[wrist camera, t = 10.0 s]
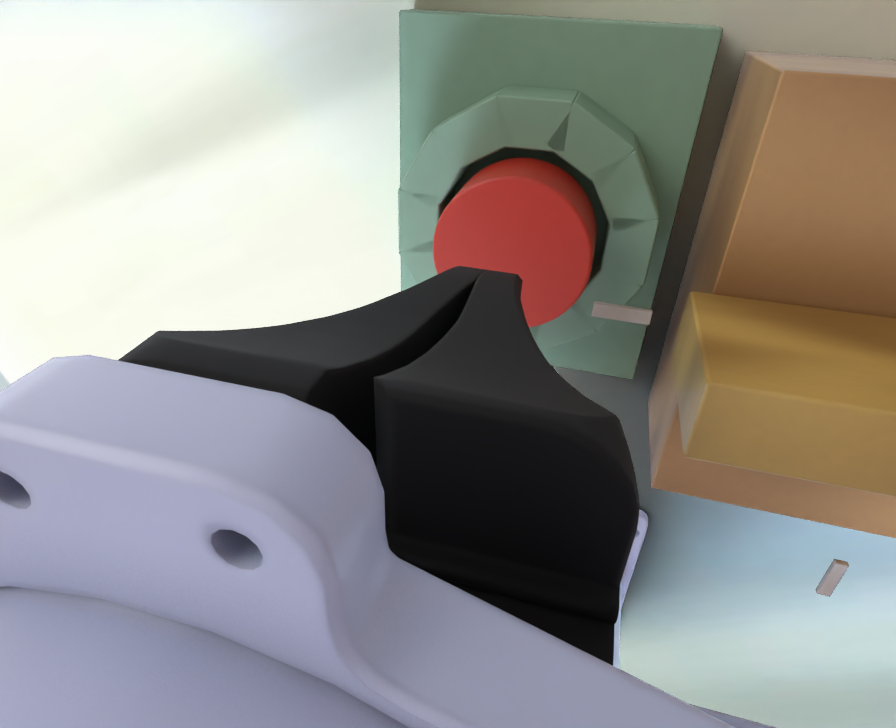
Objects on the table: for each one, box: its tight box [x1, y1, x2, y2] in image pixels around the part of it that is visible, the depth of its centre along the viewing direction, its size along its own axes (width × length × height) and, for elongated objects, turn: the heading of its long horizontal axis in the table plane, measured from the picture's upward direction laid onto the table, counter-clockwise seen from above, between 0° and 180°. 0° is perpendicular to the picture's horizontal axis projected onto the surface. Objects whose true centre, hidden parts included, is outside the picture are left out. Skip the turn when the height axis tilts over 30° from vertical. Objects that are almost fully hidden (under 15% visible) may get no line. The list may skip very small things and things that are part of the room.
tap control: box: [398, 9, 723, 379], centre depth 17 cm, size 10×8×3 cm
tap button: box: [433, 157, 597, 328], centre depth 15 cm, size 4×4×2 cm
